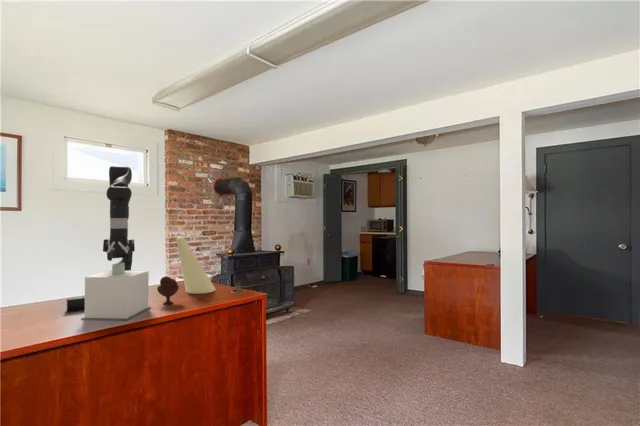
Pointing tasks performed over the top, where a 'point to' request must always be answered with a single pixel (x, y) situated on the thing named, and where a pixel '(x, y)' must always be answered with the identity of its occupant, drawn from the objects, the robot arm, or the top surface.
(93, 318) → the mat
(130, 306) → the cover
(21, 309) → the top surface
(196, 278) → the cone light
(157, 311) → the top surface
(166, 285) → the ice cream bowl
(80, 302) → the end cap
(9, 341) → the top surface
